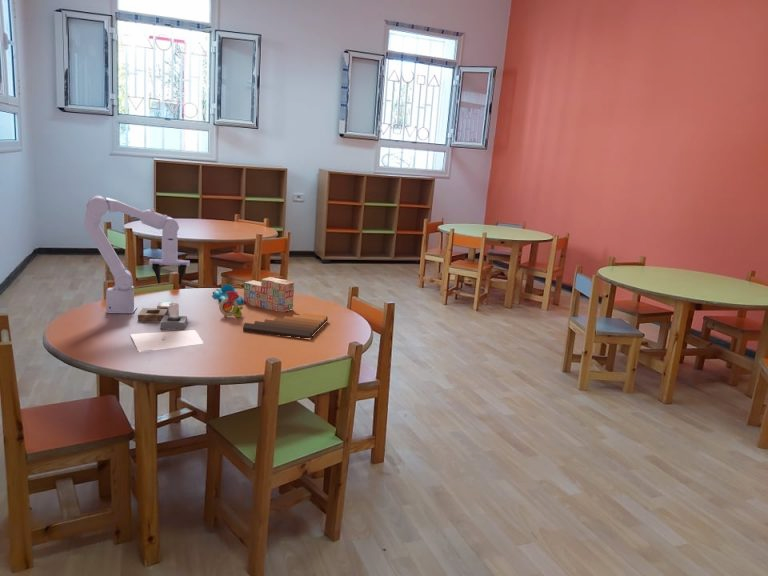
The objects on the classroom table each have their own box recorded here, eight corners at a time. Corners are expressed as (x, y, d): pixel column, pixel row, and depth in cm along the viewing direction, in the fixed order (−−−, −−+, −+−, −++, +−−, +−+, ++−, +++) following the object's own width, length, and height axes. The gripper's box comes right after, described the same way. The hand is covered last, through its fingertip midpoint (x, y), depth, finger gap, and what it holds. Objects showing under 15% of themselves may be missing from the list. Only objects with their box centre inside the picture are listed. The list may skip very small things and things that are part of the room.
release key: (158, 313, 218) (158, 306, 217) (161, 308, 224) (161, 301, 224) (169, 313, 218) (169, 306, 218) (172, 308, 225) (172, 301, 225)
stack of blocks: (243, 303, 243) (243, 275, 240) (252, 300, 249) (253, 273, 246) (284, 313, 234) (285, 283, 231) (293, 310, 240) (294, 281, 237)
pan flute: (242, 332, 206) (309, 341, 203) (242, 324, 206) (309, 332, 202) (267, 315, 231) (327, 323, 227) (267, 307, 230) (327, 314, 226)
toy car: (235, 295, 257) (235, 280, 255) (246, 305, 241) (246, 290, 240) (210, 296, 251) (210, 281, 250) (220, 306, 236) (220, 291, 235)
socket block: (137, 321, 207) (137, 314, 207) (142, 314, 216) (142, 308, 215) (164, 321, 209) (164, 315, 209) (167, 315, 218) (167, 308, 217)
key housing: (156, 314, 217) (156, 306, 217) (159, 310, 223) (159, 301, 222) (170, 314, 218) (170, 306, 218) (173, 310, 224) (173, 302, 223)
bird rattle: (227, 324, 219) (248, 314, 222) (215, 299, 215) (237, 290, 218) (224, 320, 225) (245, 310, 227) (213, 295, 221) (234, 286, 223)
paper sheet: (202, 331, 203) (202, 329, 203) (214, 363, 178) (214, 360, 178) (130, 334, 194) (130, 331, 193) (131, 368, 168) (131, 365, 168)
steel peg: (168, 327, 204) (168, 305, 202) (169, 324, 207) (169, 303, 205) (178, 327, 205) (178, 305, 203) (179, 324, 208) (179, 303, 206)
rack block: (160, 329, 201) (160, 322, 201) (163, 322, 209) (163, 315, 208) (184, 329, 203) (184, 322, 202) (186, 322, 211) (187, 316, 210)
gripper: (147, 250, 215) (148, 285, 218) (188, 251, 218) (188, 286, 221) (151, 246, 222) (151, 280, 225) (190, 248, 225) (190, 282, 228)
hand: (169, 283), depth 223 cm, fingers open, 7 cm apart
